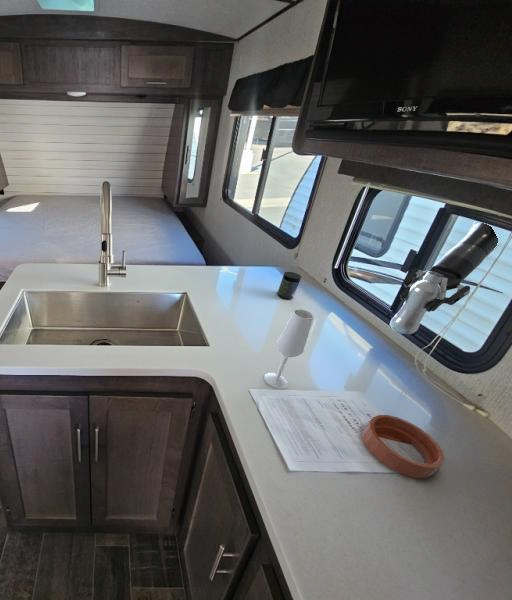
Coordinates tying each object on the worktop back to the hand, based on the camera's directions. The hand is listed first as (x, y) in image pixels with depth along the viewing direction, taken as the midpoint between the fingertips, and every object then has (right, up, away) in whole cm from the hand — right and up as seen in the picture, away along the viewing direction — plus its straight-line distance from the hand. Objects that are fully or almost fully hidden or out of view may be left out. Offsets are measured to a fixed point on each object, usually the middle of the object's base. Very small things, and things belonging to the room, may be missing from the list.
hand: (414, 304), depth 95 cm
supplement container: (-13, +3, +47) cm, 49 cm away
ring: (-22, -35, -18) cm, 46 cm away
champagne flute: (-40, -23, +1) cm, 47 cm away
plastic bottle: (+1, -9, +6) cm, 11 cm away
